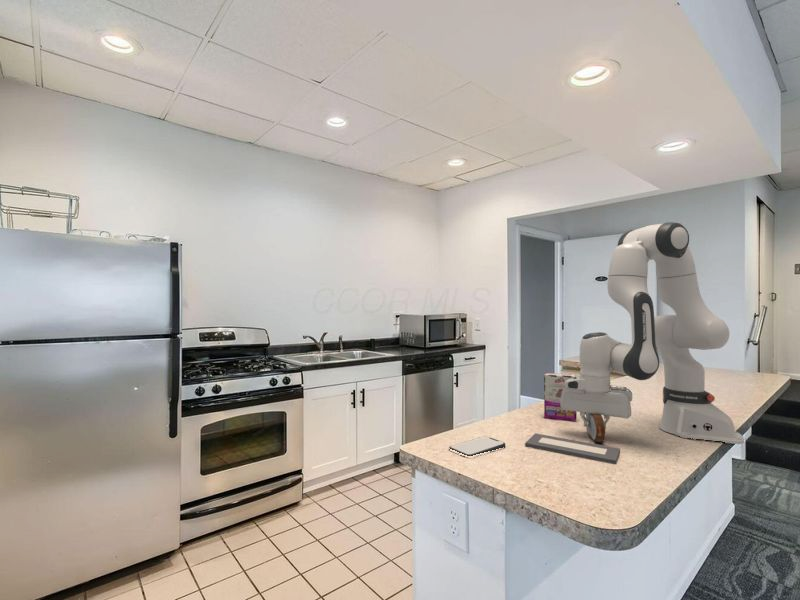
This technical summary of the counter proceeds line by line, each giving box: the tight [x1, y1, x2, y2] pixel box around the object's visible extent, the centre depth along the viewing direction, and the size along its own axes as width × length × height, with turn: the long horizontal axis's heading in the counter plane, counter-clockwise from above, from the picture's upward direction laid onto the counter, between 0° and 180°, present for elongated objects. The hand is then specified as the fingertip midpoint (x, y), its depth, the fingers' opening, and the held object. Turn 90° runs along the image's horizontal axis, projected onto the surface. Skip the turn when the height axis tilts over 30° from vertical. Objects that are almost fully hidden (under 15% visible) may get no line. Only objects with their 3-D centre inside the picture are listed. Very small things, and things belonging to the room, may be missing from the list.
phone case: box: [448, 435, 506, 456], centre depth 119 cm, size 9×2×16 cm
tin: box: [585, 413, 606, 444], centre depth 129 cm, size 15×3×8 cm, turn 167°
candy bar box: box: [543, 372, 578, 422], centre depth 151 cm, size 11×5×16 cm, turn 68°
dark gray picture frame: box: [524, 432, 621, 465], centre depth 119 cm, size 24×11×1 cm, turn 57°
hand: (594, 427), depth 129 cm, fingers closed on tin, 3 cm apart
